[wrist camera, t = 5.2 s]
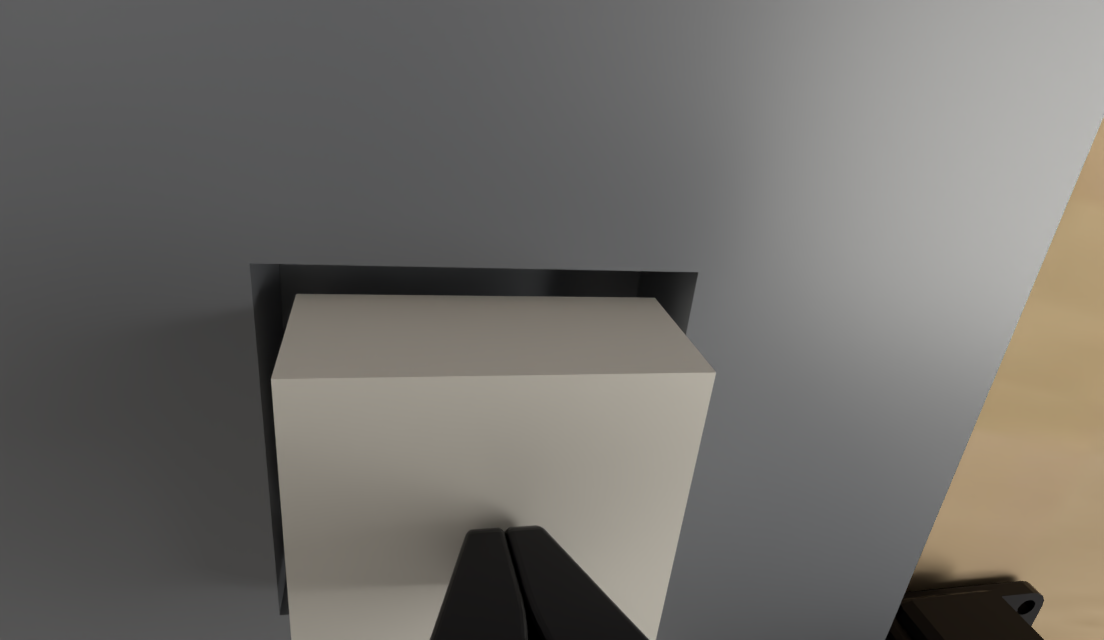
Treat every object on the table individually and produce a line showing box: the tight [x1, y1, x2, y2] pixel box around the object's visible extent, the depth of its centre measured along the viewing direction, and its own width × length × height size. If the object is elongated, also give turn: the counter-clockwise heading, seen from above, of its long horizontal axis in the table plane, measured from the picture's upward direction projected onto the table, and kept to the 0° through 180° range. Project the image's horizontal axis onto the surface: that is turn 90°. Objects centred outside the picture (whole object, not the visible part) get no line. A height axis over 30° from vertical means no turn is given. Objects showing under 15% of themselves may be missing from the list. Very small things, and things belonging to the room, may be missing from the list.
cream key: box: [271, 294, 716, 640], centre depth 9 cm, size 4×4×2 cm
